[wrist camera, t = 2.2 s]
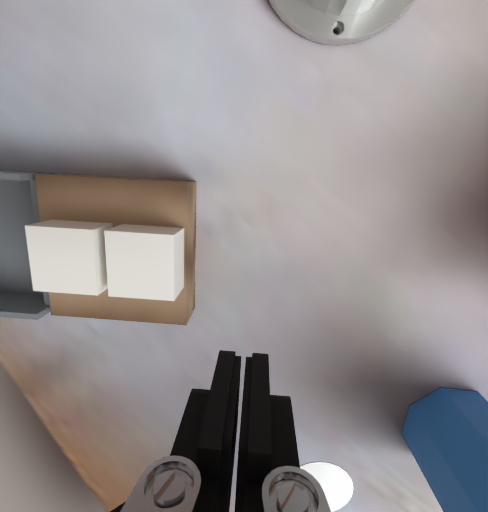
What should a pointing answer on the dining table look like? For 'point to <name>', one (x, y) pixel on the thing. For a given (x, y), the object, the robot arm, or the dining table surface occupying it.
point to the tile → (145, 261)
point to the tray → (18, 247)
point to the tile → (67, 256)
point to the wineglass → (332, 483)
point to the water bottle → (451, 447)
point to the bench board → (120, 212)
